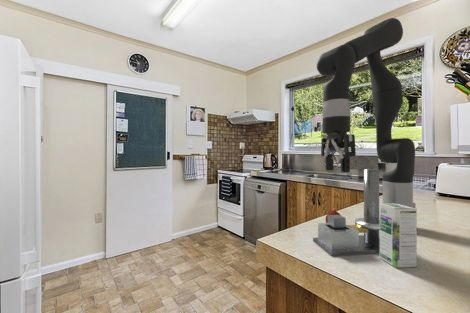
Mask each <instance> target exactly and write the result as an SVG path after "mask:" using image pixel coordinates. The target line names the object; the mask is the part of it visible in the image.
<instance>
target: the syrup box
mask: <svg viewBox="0 0 470 313" xmlns="http://www.w3.org/2000/svg"><path fill="white" fill-rule="evenodd" d="M417 211H418V209H417V208H411V207H407V206H404V205H400V204H394V203H386V204H383V203H379V220H380V230H379V234H380V253H379V259H380V260H382V261H384V262H386V263H387V264H390V265H391V266H392V267H394V268H395V269H398V268H400V269H401V268H413V267H414V268H415V267H417V253H418V252H417V249H418V248H417V243H418V241H417V240H418V239H417V237H418V236H417V234H418V233H417V231H418V228H417V227H418V226H417V225H418V224H417V223H418V220H417V216H418V212H417Z"/></svg>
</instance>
